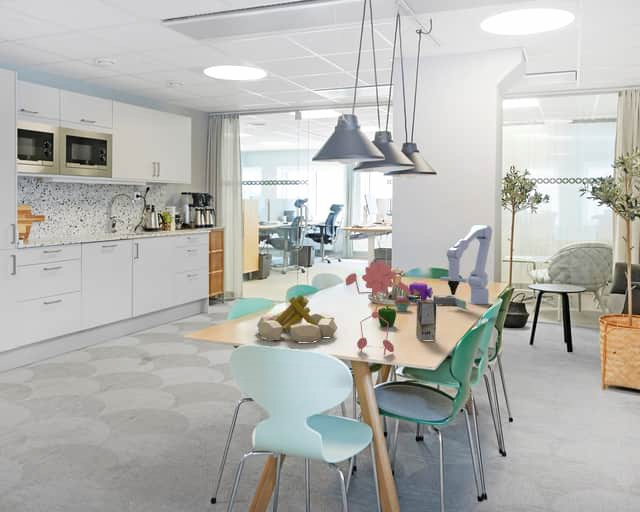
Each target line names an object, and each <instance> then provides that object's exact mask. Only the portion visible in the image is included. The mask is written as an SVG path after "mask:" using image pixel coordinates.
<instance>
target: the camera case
mask: <svg viewBox="0 0 640 512" xmlns="http://www.w3.org/2000/svg"><path fill="white" fill-rule="evenodd" d="M456 298H457V297H456V296H455V295H433V298H432V299H433V300H432V301H433V302H435V303H436V304H442V305H441V306H457V305H456ZM443 304H444V305H443Z"/></svg>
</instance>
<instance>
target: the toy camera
mask: <svg viewBox="0 0 640 512" xmlns="http://www.w3.org/2000/svg"><path fill="white" fill-rule="evenodd" d="M408 289H409V290H410V294H411V295H415V296H421V300H428V299H427V298H429V299H431V298H432V296H433V294H434V292H433V289H432V287H429V288H428V284H427V283H421V282H417V281H413V283H410V284H409V286H408Z"/></svg>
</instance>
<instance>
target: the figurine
mask: <svg viewBox="0 0 640 512" xmlns="http://www.w3.org/2000/svg"><path fill="white" fill-rule="evenodd" d="M364 270H365V274H363V275H361V279H362V280H363V282H365V288H367V289H371V291H360V289H359V285H358V280H357V279H358V278H357V274H356V272H353V273H350V274H349V275H348V276H347V277H346V278H345V280H344V281H345V285H346V287H348V286H350V285H352V284H354V283H355V285H356V289H357V293H358V294H359V295H360V294H361V295H363V294H373V295H374V296H375V297H376V298H377V299H378V300H377V303H376V307H375V310H374V311H372V313H371V315H370V316H368V317H366V318H364V319H362V320H360V322H359V324H360V329H361V333H360V334H361V337H360V338H359V339H358V340H357V342H356V345H357V346H356V347H358V350H359V351H360V352H359V354H360V353H363V349H364V348H365V346H368V340H367V338H366V337H364V335H363V334H364V333H363V325H362V322H364V321H366V320H368V319H370V318H372V319H379V318H378V317H380V316H379V314H378V308H379V304H380V301H381V298H380V297H382V298H385V299H388V298H390V296H391V294H392V293H393V292H394V291H395V290H396V289H397V287H398V286H399V288H400V289H401V290H402V291H403V292H404V293H405V292H406V294H407V295H408V296H409V295H410V290H409V286H407V285H406V284H405V283H403V282H402V281H401V280H399V281H398V282H397V284H396V285H395V286H394V282H393V280H394V279H395V278H396V275H395V274H394V273H393V272H391V270H392V265H390V264H386V263H385V262H384V261H380V262H378V263H377V262H376V261H374V260H372V261H371V262H370V263H369V266H365V269H364ZM388 288H392V290H391V291H390V292H389V293H388V295H387V296H385V295H383V294H386V293H387V291H388ZM379 292H381V293H383V294H380V293H379ZM379 296H380V297H379ZM380 318H381V317H380ZM381 319H382V320H384V319H383V318H381ZM384 321H385V320H384ZM385 322H386V321H385ZM386 323H388V322H386ZM386 327H387V329H386V336H385V337H386V339H383V340H382V345H383V348H384V347H385V348H384V349H383V355H385V356H386V351H388V352H390V353H391V352H393V353H394V351H395V348H394V347H395V346H394V345H393V343H392V342H391V341H390V340H388V337H389V336H388V335H389V324H388V326H386ZM360 349H361V350H360Z"/></svg>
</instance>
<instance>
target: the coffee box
mask: <svg viewBox="0 0 640 512" xmlns="http://www.w3.org/2000/svg"><path fill="white" fill-rule="evenodd" d="M436 323H437V305H436V303H435V302H433V300H432V299H426V300H417V301H416V332H415V333H416V334H415V336H417V337H418V338H419V339H420V340H435V341H436V330H437V326H436V325H437V324H436ZM417 337H416V338H417ZM418 338H417V339H418ZM419 339H418V340H419ZM420 340H419V341H420Z"/></svg>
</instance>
